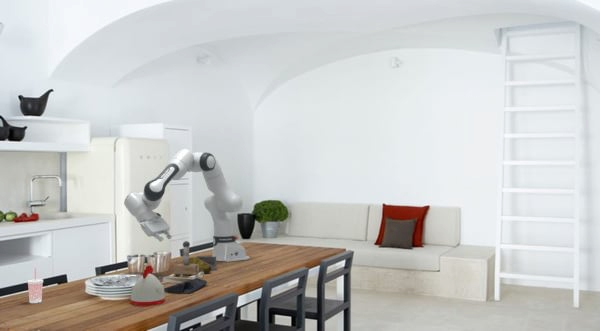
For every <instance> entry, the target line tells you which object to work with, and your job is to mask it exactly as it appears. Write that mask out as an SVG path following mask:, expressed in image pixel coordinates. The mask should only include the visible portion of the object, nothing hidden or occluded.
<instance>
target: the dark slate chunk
mask: <svg viewBox="0 0 600 331" xmlns="http://www.w3.org/2000/svg"><path fill="white" fill-rule="evenodd" d="M206 284H208V281H207V280H205V279H203V278H200V279H198V278H195V279H192V280H189V281H186V282H182V283H175V284H173V285H170V286H167V287H164V293H170V294H178V295H181V294H182V295H190V294H191V293H194V292H196V291H198V290H199V289H201V288H203V287H204V286H205V285H206Z"/></svg>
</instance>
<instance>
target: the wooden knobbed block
mask: <svg viewBox="0 0 600 331" xmlns="http://www.w3.org/2000/svg"><path fill="white" fill-rule="evenodd" d="M190 245H191V243H190V242H189V241H187V240H185V241H184V242H183V243H182V247H183V249H182V250H183V262H182V263H178V264H174V265H173V274H182V275H183V276H182V277H184V276H185V277H190V276H193V275H195V274H197V273H199V264H189V259H190Z"/></svg>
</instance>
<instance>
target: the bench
mask: <svg viewBox="0 0 600 331" xmlns="http://www.w3.org/2000/svg"><path fill="white" fill-rule="evenodd" d="M196 258H199V259H200V260H202V261H204V262H206V263H208V264H209V265H210V266H211V271H217V261H216V257H214V256H212V255H208V256H207V255H198V256H197V257H196ZM204 275H205V273H204V272H199V273H197V274H195V275H193V276H187V277H184V276H183V275H182V274H174V273H172V274H170V275H168V276H163V277H162V282H163V281H164V282H166V283H167V284H168V283H169V284H170V283H171V284H179V283H182V282H186V281H189V280H192V279H195V278H198V279H203V278H204V277H205V276H204ZM164 282H163V283H164Z"/></svg>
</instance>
